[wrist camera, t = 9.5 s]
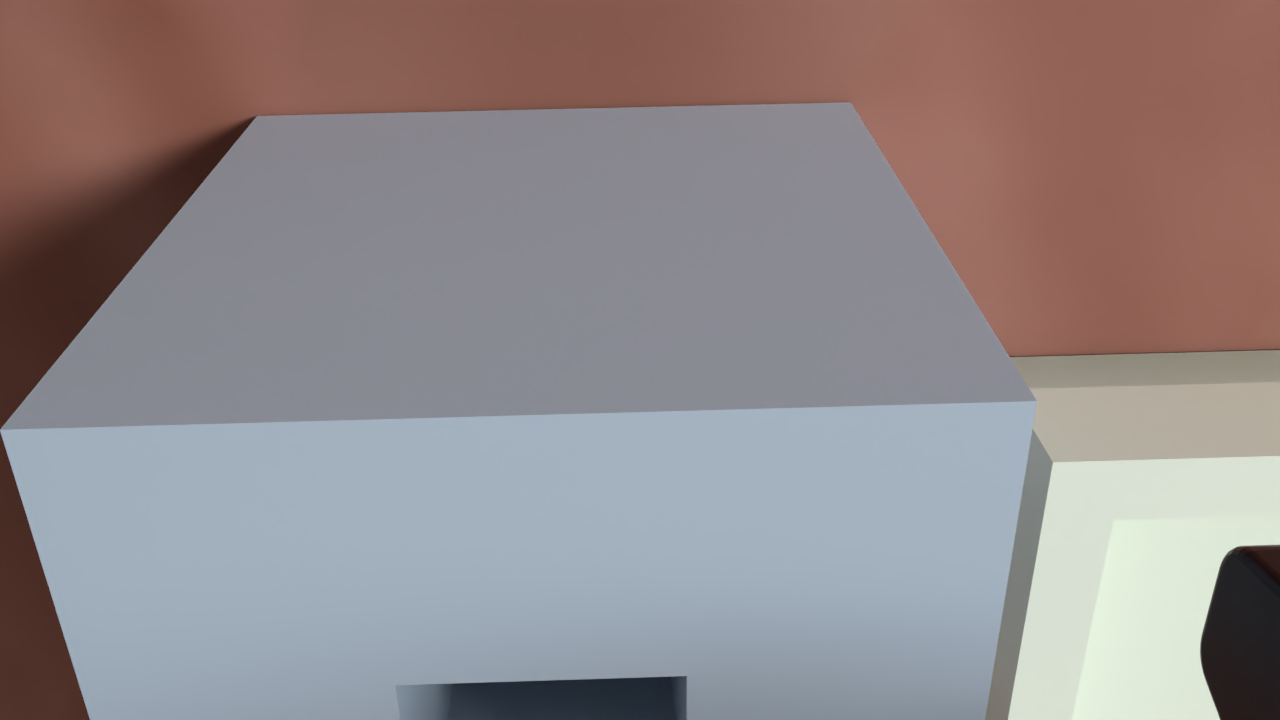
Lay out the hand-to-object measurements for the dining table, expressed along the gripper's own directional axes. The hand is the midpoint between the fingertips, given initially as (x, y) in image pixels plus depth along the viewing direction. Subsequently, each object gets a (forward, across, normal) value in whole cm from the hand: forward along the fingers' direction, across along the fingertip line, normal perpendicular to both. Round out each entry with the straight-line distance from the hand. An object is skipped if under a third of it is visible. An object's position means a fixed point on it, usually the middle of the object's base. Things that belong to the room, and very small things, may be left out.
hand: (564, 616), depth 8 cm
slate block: (+4, 0, 0) cm, 4 cm away
